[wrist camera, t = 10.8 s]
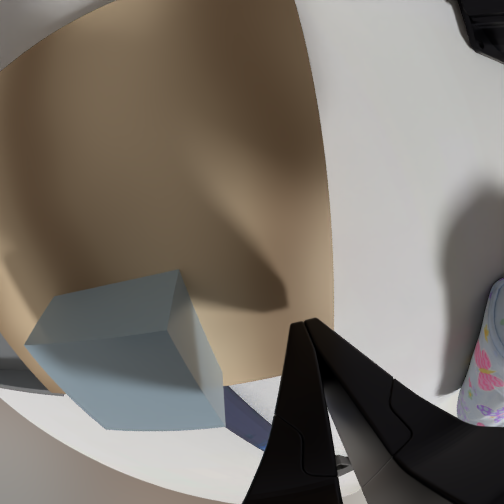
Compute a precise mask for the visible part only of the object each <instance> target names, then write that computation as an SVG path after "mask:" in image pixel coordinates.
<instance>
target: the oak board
mask: <svg viewBox="0 0 504 504" xmlns="http://www.w3.org/2000/svg"><path fill="white" fill-rule="evenodd" d="M177 269H179V270H180V273H181V276H182V278H183V281H184V284H185V286H186V289H187V291H188V294H189V296H190V299H191V301H192V304H193V306H194V309H195V311H196V314H197V316H198V318H199V321H200V323H201V325H202V328H203V330H204V332H205V335H206V337H207V339H208V342H209V344H210V346H211V348H212V351H213V353H214V355H215V357H216V359H217V362H218V364H219V366H220V368H221V370H222V372H223V386H228V385H234V384H240V383H246V382H252V381H257V380H262V379H267V378H272V377H276V376H281V375H282V370H283V364H284V359H285V353H286V347H287V341H288V334H289V328H290V324H291V323H295V322H299V321H303V322H304V321H305V320H307V319H311V318H314V317H316V318H318V319H319V320H321V321H322V322H323V323H324V324H326V325H327V326H328V327H329V328H331V329H332V330H333V331H334V277H333V249H332V230H331V215H330V202H329V191H328V180H327V171H326V162H325V153H324V146H323V138H322V131H321V124H320V117H319V111H318V105H317V99H316V93H315V88H314V82H313V77H312V72H311V67H310V62H309V57H308V53H307V48H306V44H305V39H304V35H303V31H302V27H301V23H300V19H299V15H298V11H297V8H296V4H295V1H294V0H116V1H114V2H111V3H109V4H107V5H105V6H102V7H100V8H98V9H96V10H94V11H92V12H90V13H88V14H86V15H84V16H82V17H80V18H78V19H76V20H74V21H72V22H71V23H69V24H67V25H65V26H64V27H62V28H60V29H59V30H57V31H55V32H54V33H52V34H51V35H49V36H47V37H46V38H44V39H43V40H41V41H40V42H38V43H37V44H35V45H34V46H33V47H31V48H30V49H28V50H27V51H26V52H24V53H23V54H22V55H20V56H19V57H18V58H16V59H15V60H14V61H13V62H11V63H10V64H9V65H8V66H7V67H5V68H4V69H3V70H2V71H1V72H0V333H1V334H2V336H3V337H4V338H5V340H6V341H7V342H8V344H9V345H10V346H11V348H12V349H13V350H14V351H15V353H16V354H17V355H18V356H19V358H20V359H21V360H22V361H23V362H24V364H25V365H26V366H27V367H28V368H29V369H30V371H31V372H32V373H33V374H34V375H35V376H36V377H37V378H38V379H39V380H40V382H41V383H42V384H43V385H44V386H45V387H46V388H47V389H48V390H49V391H50V392H51V393H61V394H66V393H65V392H64V391H63V390H62V389H61V388H60V387H59V386H58V385H57V384H56V383H55V382H54V380H53V379H52V378H51V377H50V376H49V375H48V374H47V373H46V372H45V370H44V369H43V368H42V367H41V366H40V365H39V364H38V362H37V361H36V360H35V359H34V358H33V356H32V355H31V354H30V353H29V351H28V350H27V349H26V347H25V346H24V344H25V342H26V341H27V339H28V337H29V335H30V334H31V332H32V330H33V329H34V327H35V325H36V324H37V322H38V320H39V319H40V317H41V316H42V314H43V312H44V311H45V309H46V308H47V306H48V305H49V303H50V302H51V300H52V299H53V297H54V296H58V295H63V294H67V293H72V292H76V291H81V290H86V289H90V288H95V287H99V286H104V285H109V284H113V283H118V282H122V281H127V280H132V279H136V278H141V277H145V276H150V275H155V274H159V273H164V272H168V271H173V270H177Z"/></svg>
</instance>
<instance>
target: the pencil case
mask: <svg viewBox="0 0 504 504" xmlns="http://www.w3.org/2000/svg"><path fill="white" fill-rule="evenodd" d="M457 416H458V419H460V420H462V421H464V422H467V423H469V424H473V425H477V426H489V427H504V278H502V279H500V280H499V281H497V282H496V283H495V284H494V285H493V287H492V289H491V292H490V295H489V298H488V302H487V306H486V310H485V314H484V320H483V324H482V328H481V332H480V336H479V338H478V341H477V344H476V347H475V350H474V353H473V356H472V359H471V362H470V366H469V370H468V373H467V375H466V377H465V380H464V383H463V385H462V387H461V389H460V392H459V396H458V402H457Z"/></svg>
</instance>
